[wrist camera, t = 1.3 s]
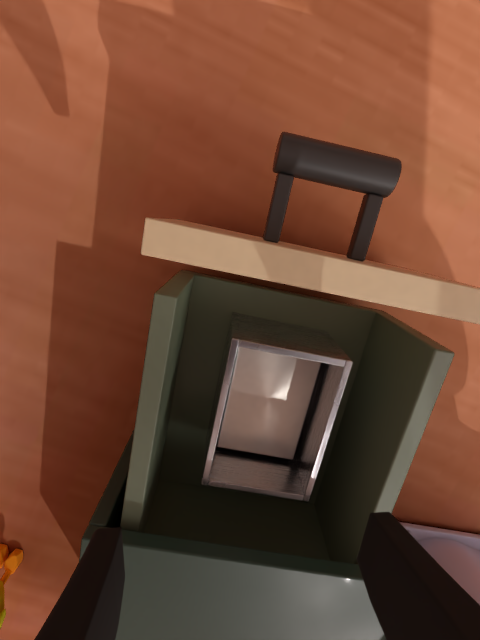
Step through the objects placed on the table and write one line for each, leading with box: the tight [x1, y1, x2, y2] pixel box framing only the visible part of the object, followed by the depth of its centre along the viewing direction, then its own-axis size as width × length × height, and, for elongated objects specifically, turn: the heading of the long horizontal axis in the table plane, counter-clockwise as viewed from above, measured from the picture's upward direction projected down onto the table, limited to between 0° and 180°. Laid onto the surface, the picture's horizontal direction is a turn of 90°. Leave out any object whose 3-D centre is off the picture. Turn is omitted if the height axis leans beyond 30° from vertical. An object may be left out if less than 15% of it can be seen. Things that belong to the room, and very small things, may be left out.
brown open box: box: [201, 312, 353, 501], centre depth 17 cm, size 5×7×4 cm
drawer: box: [120, 132, 480, 565], centre depth 16 cm, size 19×12×7 cm, turn 168°
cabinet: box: [79, 431, 386, 640], centre depth 20 cm, size 16×13×8 cm
